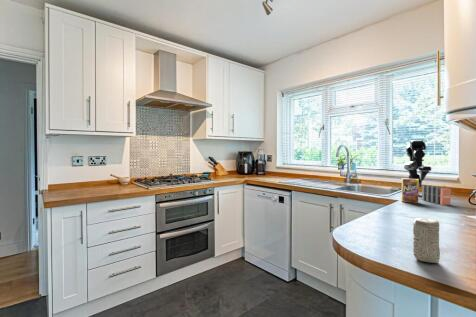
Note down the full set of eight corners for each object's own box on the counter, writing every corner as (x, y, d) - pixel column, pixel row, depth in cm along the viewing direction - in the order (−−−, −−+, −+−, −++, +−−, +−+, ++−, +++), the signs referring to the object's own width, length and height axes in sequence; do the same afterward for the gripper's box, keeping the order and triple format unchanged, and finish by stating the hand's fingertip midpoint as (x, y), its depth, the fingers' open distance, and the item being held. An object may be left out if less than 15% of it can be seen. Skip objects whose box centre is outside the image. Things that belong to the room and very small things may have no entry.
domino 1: (422, 199, 169) (422, 185, 169) (429, 200, 169) (429, 185, 169) (423, 200, 167) (424, 185, 167) (431, 200, 167) (431, 185, 167)
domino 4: (435, 203, 157) (435, 187, 157) (443, 203, 157) (443, 187, 157) (437, 203, 156) (437, 188, 156) (445, 203, 156) (445, 188, 156)
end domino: (440, 204, 154) (440, 188, 153) (448, 204, 154) (448, 188, 153) (442, 205, 152) (442, 188, 152) (450, 205, 152) (450, 188, 152)
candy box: (401, 201, 161) (402, 178, 161) (401, 200, 165) (401, 178, 165) (418, 203, 157) (418, 179, 157) (417, 202, 161) (417, 178, 161)
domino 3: (430, 202, 161) (431, 186, 161) (438, 202, 161) (438, 186, 161) (432, 202, 160) (433, 187, 159) (440, 202, 160) (440, 187, 159)
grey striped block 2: (426, 201, 165) (426, 186, 165) (433, 201, 165) (434, 186, 165) (428, 201, 163) (428, 186, 163) (435, 201, 163) (436, 186, 163)
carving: (438, 258, 74) (439, 218, 73) (441, 268, 67) (442, 224, 67) (412, 254, 77) (413, 215, 77) (412, 262, 71) (413, 221, 71)
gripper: (397, 157, 185) (397, 178, 186) (416, 158, 167) (415, 181, 167) (411, 157, 186) (411, 178, 186) (432, 158, 167) (431, 181, 168)
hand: (416, 179), depth 177 cm, fingers open, 9 cm apart
